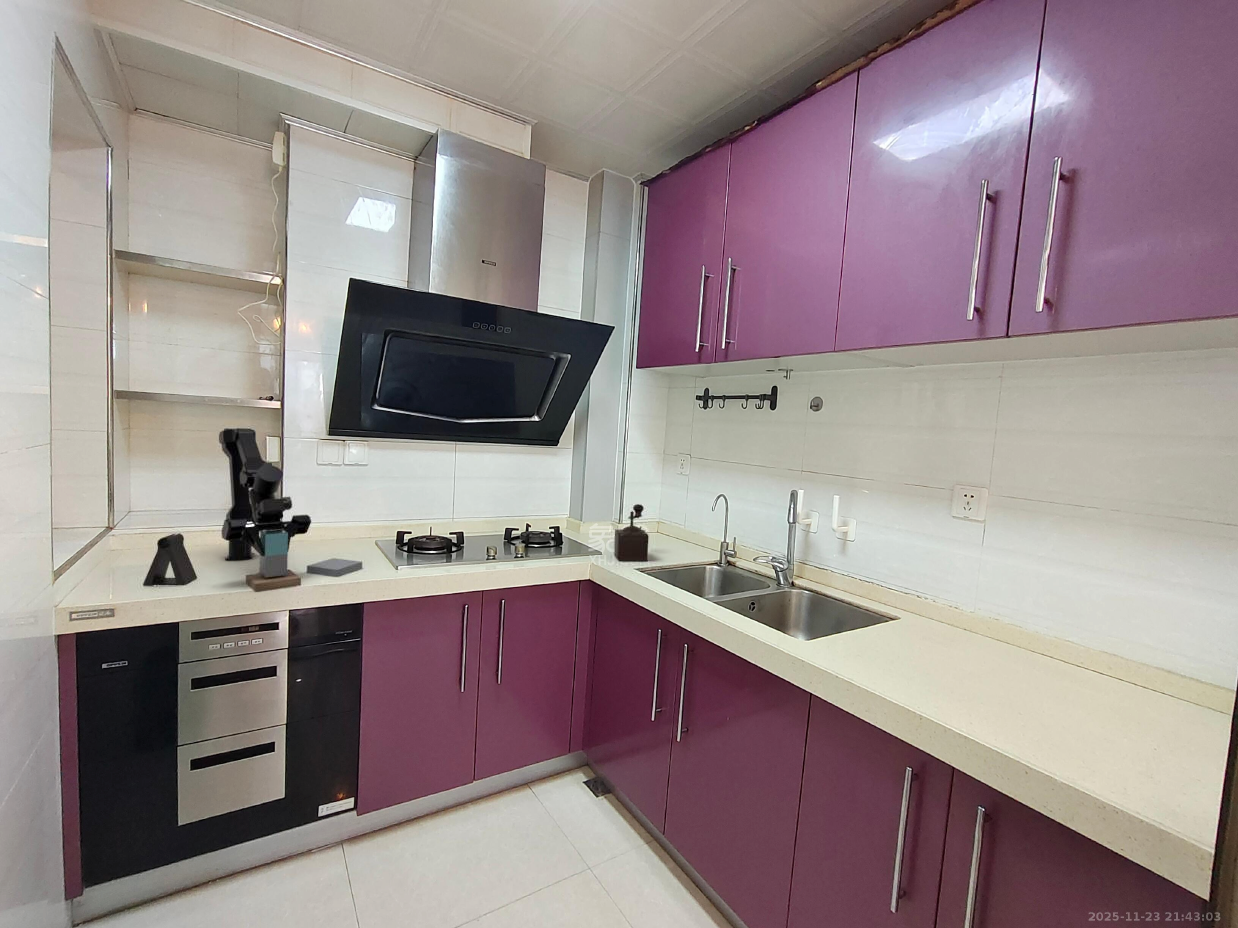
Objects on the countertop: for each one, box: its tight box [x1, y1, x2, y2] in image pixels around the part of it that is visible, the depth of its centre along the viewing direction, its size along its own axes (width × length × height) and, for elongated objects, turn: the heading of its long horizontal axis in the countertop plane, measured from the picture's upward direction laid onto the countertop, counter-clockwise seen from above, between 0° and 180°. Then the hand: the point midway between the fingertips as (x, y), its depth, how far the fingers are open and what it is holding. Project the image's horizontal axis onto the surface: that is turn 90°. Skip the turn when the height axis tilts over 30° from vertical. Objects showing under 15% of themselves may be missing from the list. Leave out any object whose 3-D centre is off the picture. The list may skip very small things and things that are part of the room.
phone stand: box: [142, 532, 198, 587], centre depth 139 cm, size 9×6×12 cm, turn 104°
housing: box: [259, 530, 289, 578], centre depth 141 cm, size 5×5×11 cm
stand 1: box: [245, 568, 302, 593], centre depth 142 cm, size 10×10×2 cm
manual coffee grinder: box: [613, 503, 649, 563], centre depth 194 cm, size 16×11×18 cm
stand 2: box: [306, 557, 363, 578], centre depth 157 cm, size 10×10×2 cm
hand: (275, 553), depth 141 cm, fingers closed on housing, 5 cm apart
